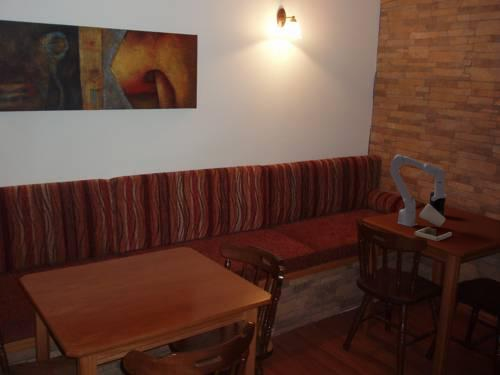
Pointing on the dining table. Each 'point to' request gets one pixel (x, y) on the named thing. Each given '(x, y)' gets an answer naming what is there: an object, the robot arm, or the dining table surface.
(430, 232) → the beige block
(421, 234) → the bay
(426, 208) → the foam cup
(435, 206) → the green-striped black cylinder
